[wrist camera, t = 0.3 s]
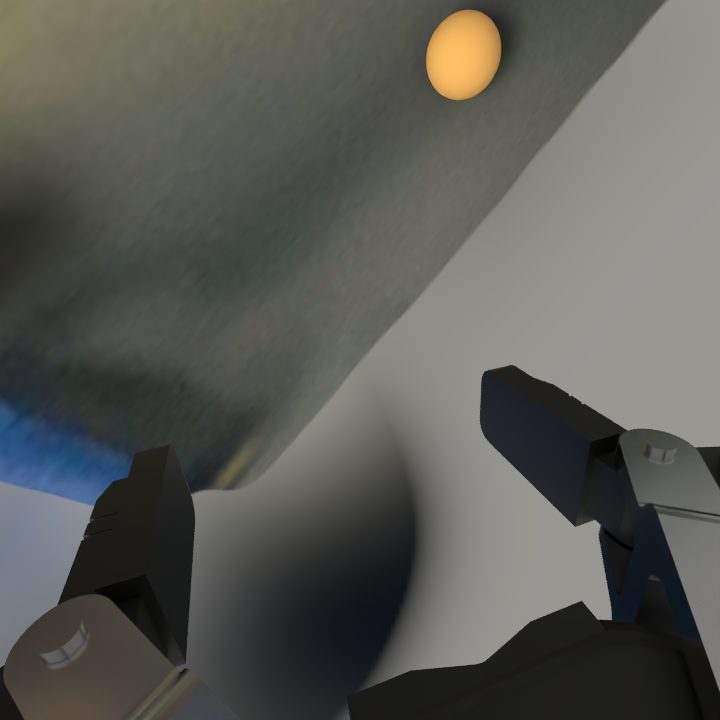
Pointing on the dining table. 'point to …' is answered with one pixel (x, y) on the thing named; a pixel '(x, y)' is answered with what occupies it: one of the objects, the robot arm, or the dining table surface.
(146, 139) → the dining table surface
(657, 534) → the robot arm
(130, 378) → the dining table surface
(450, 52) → the ball
